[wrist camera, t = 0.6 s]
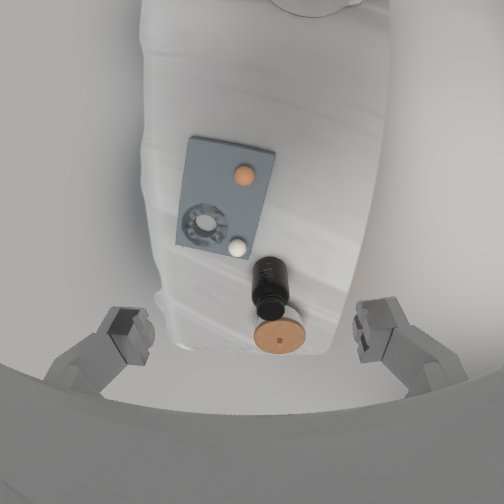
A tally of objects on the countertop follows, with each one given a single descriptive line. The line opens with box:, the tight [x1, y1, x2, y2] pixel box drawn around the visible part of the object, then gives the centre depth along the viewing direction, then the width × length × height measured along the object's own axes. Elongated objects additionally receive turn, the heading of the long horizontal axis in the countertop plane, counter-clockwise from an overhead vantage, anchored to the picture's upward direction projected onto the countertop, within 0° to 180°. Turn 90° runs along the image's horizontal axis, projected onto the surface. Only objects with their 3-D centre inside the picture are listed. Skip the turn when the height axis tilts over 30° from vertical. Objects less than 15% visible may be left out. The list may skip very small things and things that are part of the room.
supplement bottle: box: [252, 258, 289, 321], centre depth 51 cm, size 7×7×12 cm
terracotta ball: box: [234, 166, 255, 186], centre depth 43 cm, size 3×3×3 cm
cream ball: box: [228, 239, 246, 257], centre depth 49 cm, size 3×3×3 cm
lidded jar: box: [254, 305, 305, 354], centre depth 58 cm, size 11×11×9 cm
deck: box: [175, 136, 275, 260], centre depth 48 cm, size 20×14×2 cm
